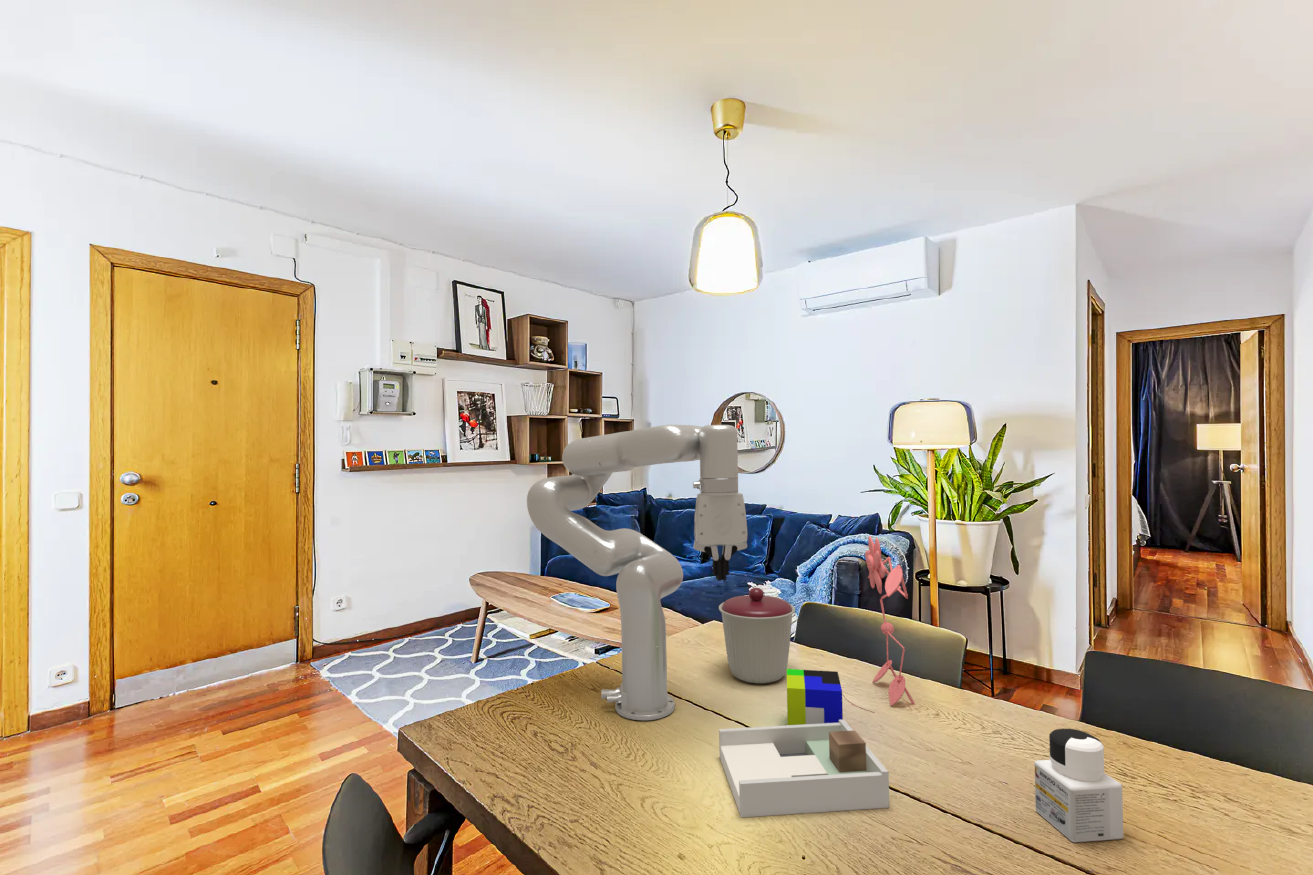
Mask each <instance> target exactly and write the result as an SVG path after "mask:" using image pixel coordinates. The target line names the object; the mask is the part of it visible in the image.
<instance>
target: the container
mask: <svg viewBox="0 0 1313 875" xmlns="http://www.w3.org/2000/svg"><path fill="white" fill-rule="evenodd" d="M1104 748H1105V746H1104V744H1103V743H1102V741H1101V740H1100V739H1098V738H1097V737H1096V736H1094V735H1092V734H1090V733H1088V732H1086V731H1082V730H1079V729H1074V728H1057V729H1054V730H1052V731H1051V732H1050V733H1049V759H1040V760H1035V761H1034V794H1035V795H1034V799H1035V800H1034V802H1035V804H1034V805H1035V812H1037V813H1038V814H1039V815H1040V816H1041V817H1042V818H1044V819H1045V821H1047V822H1048V823H1049V824H1051V825H1052V826H1053V827H1055V829H1057V830H1058V831H1059V833H1061V834H1062V835H1063V836H1065V837H1066V838H1067V839H1068V840H1069V841H1071V842H1072V843H1084V842H1085V843H1086V842H1098V841H1099V842H1100V841H1111V840H1121V839H1124V819H1123V818H1124V811H1123V810H1124V809H1123V806H1124V805H1123V803H1124V802H1123V785H1122V783H1121V782H1119V781H1118V780H1116V779H1114V778H1113V777H1111V776H1109V775H1108V774H1107V773H1105V756H1104V754H1105V752H1104V751H1105V750H1104Z"/></svg>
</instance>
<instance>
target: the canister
mask: <svg viewBox="0 0 1313 875" xmlns="http://www.w3.org/2000/svg"><path fill="white" fill-rule="evenodd" d="M718 610H719V612H720V613H721V618H722V627H723V634H724V636H723V637H724V643H725V650H726V655H727V656H726V657H727V663H728V668H729V670H730V672H731V674H732V675H733V676H734V677H735V678H736V679H738V680H739V681H743V682H745V683H750V684H758V685H759V684H771V683H774V682H777V681H780V680H781V679H782V678H783V677H784V676H785V674H786V673H787V669H788V664H789V663H788V662H789V657H790V656H789V654H790V646H791V633H792V625H793V624H792V623H793V615H794V614H795V612H796V608H795V606H794V605H793V604H791V603H789V602H788V601H786V600H785V599H782V598H780V597H777V596H776V597H775V596H770V595H765V592H764V590H763V589H762V588H760V587H752V588H750V589H749V591H748V595H738V596H734V597H731V598H729V599H726V600H725V601H723V602H721V603H720V604H719V605H718Z"/></svg>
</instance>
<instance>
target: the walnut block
mask: <svg viewBox="0 0 1313 875" xmlns="http://www.w3.org/2000/svg"><path fill="white" fill-rule="evenodd" d="M866 746H867V744H866V741H864V739H863V738H862V736H860V735H859V733H858V732H857V731H856V730H854V729H853V731H835V732H829V759H830V760H831V761H832V763H833V764H834V766H835V767H836V769H837V770H838V771H839V773H840V772H856V771H866Z"/></svg>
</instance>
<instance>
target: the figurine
mask: <svg viewBox="0 0 1313 875" xmlns="http://www.w3.org/2000/svg"><path fill="white" fill-rule="evenodd" d="M867 542H868V550H866V551H865V554H864V556H865V557H864V558H865V563H866V566H867V570H868V576H867V579H869V583H870V587H871V588H872V589H874V588H875V585H876V588H877V592H878V593H879V595H881V594H882V592H883V590H882V589H883V588H882V587H883V582H882V579H884V578H885V575H887V577H886V578H885V583H884V589H885V593H886V594H883V595H882V596H881V597H880V599H879V601H880V602H879V603H880V609H881V614H882V618H883V623H882V624H881V626H880V631H881V633H883V635H886V638H885V639H886V641H885V642H886V662H885V663H884V664H883V665H882V666H881V667H880V669H879V670H878V672H877V674H875V677H873V680H872V683H873V684H874V683H877V682H878V681H880V680H881V679H882V678H883V677H884V676H885V675H886V674H887V673H888V671H889V669H890V671H891V673H892V674H890V676H891V677H892V676H894V678H893V679H892V681H891V682H890V684H889V687H888V700H889V704H890V706H891V707H892V706H894V705H895V704H896V703H897V702H898V701H899V700H900V699H902V697H903V695H904V693H905V695H906V696H907V697H908V700H909V701H910V703H911V704H912V705H915V701H914V700H913V698H912V696H911V694H910V692H909V691H908V689H907V687H906V678H905V677H904V675H903V674H902V668H903V662H904V656H905V650H906V648H905V647H904V646H903V645H902V644H901V643H900V641H899V640H897V639H896V638H895V637H894V636H893V635H892V634H893V633H894V630H895V628H894V625H893V623H891V622H888V621H886V616H885V615H886V614H885V608H884V603H883V601H884V599H886V598H887V597H888V598H890V597H891V596H892V595H894V593H895V592H899V594H901V595H902V596H903V597H904V598H905V599H907V600H908V599H909V594H908V592H907V586H906V583H905V580H904V573H903V569H902V566H901V565H900V564H896V566H895V567H894V568H893V564H892V561H891V560H892V558H891V557H890V556H888V557H887V558H886V559H884V560H883V559H882V550H881V543H880V540H879V538H878V537H876V538H875V540H874V541H873V538H872V536H871V535H868V541H867ZM886 563H888V565H889V569H890V572H889V570H888V569H887V568H886V566H885V564H886ZM900 585H902V587H901V586H900ZM902 589H903V590H902ZM889 637H890V638H892V639H893V640H894V642H896V643H897V644H898V645H899V646H900V648H901V649H902V651H901V652H902V653H901V658H900V659H901V660H900V666H899V672H898V675H897V674H896V672H895V670H894V668H893V667H892V664H893V660H892V659H889ZM841 688H842V689H843V688H844V686H841ZM842 697H844V699H846V700H847V698H846V697H845V695H844V693H843V692H842ZM848 702H849V703H850V704H851V705H850V706H853V707H856V708H859V709H861V710H864V711H865V712H866V711H867V712H871V713H874V714H875V711H871V710H869V709H865V708H864V707H861V706H858V705H857V704H855V703H852V702H850V701H849V700H848Z"/></svg>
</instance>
